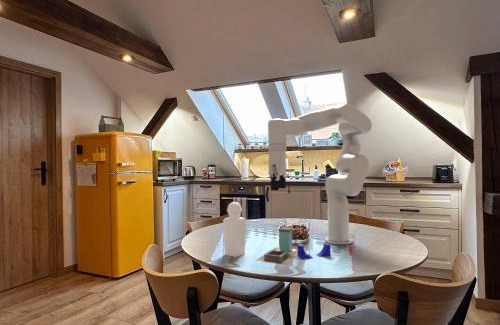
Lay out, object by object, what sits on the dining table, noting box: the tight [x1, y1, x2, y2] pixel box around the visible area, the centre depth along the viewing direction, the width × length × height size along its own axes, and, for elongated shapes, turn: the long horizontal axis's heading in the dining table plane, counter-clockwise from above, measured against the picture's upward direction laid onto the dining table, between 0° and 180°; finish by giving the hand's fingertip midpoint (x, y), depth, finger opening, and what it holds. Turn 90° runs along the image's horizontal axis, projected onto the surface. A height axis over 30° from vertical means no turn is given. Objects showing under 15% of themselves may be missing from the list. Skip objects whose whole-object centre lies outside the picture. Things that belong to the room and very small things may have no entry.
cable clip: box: [297, 242, 331, 260], centre depth 121 cm, size 12×4×6 cm, turn 96°
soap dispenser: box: [222, 201, 247, 258], centre depth 125 cm, size 6×6×22 cm
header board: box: [256, 246, 298, 265], centre depth 123 cm, size 20×12×4 cm, turn 154°
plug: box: [278, 226, 293, 252], centre depth 129 cm, size 4×4×9 cm
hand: (278, 189), depth 134 cm, fingers open, 9 cm apart
